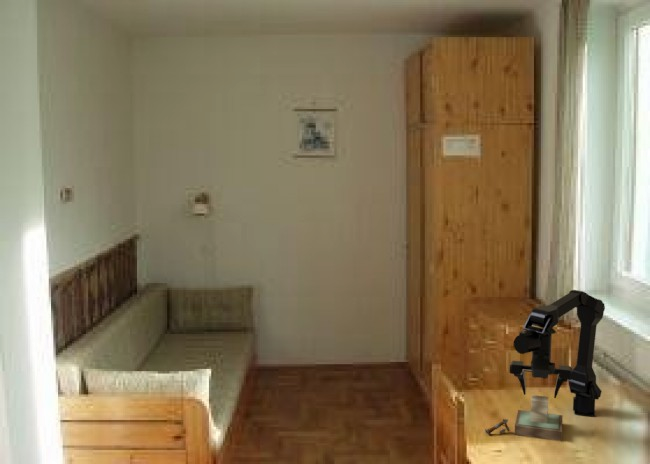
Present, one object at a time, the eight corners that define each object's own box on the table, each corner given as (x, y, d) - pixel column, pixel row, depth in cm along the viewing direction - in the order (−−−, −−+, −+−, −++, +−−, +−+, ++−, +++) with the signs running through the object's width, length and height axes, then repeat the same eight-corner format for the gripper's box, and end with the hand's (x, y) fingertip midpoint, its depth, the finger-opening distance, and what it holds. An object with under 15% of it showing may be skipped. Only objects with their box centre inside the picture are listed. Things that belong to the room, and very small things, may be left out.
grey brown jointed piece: (513, 430, 217) (508, 418, 216) (492, 442, 215) (487, 430, 214) (510, 428, 219) (505, 416, 218) (489, 440, 217) (484, 428, 216)
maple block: (547, 417, 221) (548, 396, 220) (547, 423, 216) (547, 402, 215) (531, 415, 222) (532, 394, 221) (530, 421, 218) (531, 400, 217)
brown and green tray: (562, 424, 224) (562, 414, 223) (561, 441, 211) (561, 430, 210) (517, 418, 228) (518, 409, 228) (514, 434, 215) (514, 424, 215)
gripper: (508, 352, 212) (507, 401, 214) (573, 358, 206) (570, 408, 207) (511, 343, 222) (510, 389, 224) (573, 348, 216) (570, 396, 218)
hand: (539, 396), depth 218 cm, fingers open, 9 cm apart
